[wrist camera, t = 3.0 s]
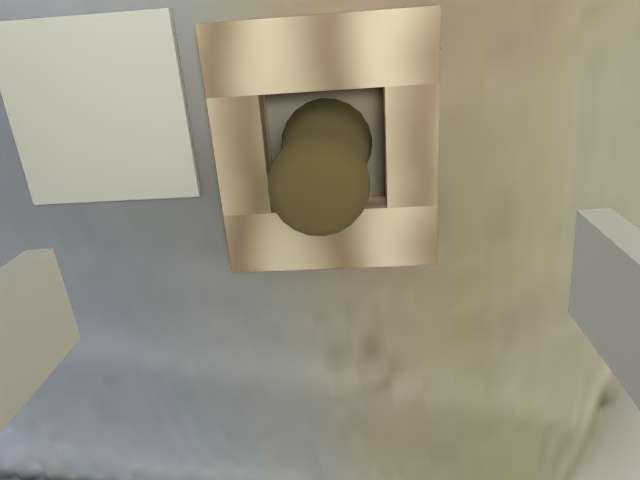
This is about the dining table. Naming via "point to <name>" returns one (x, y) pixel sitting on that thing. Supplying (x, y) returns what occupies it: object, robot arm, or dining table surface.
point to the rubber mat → (98, 107)
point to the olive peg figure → (322, 168)
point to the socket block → (322, 75)
